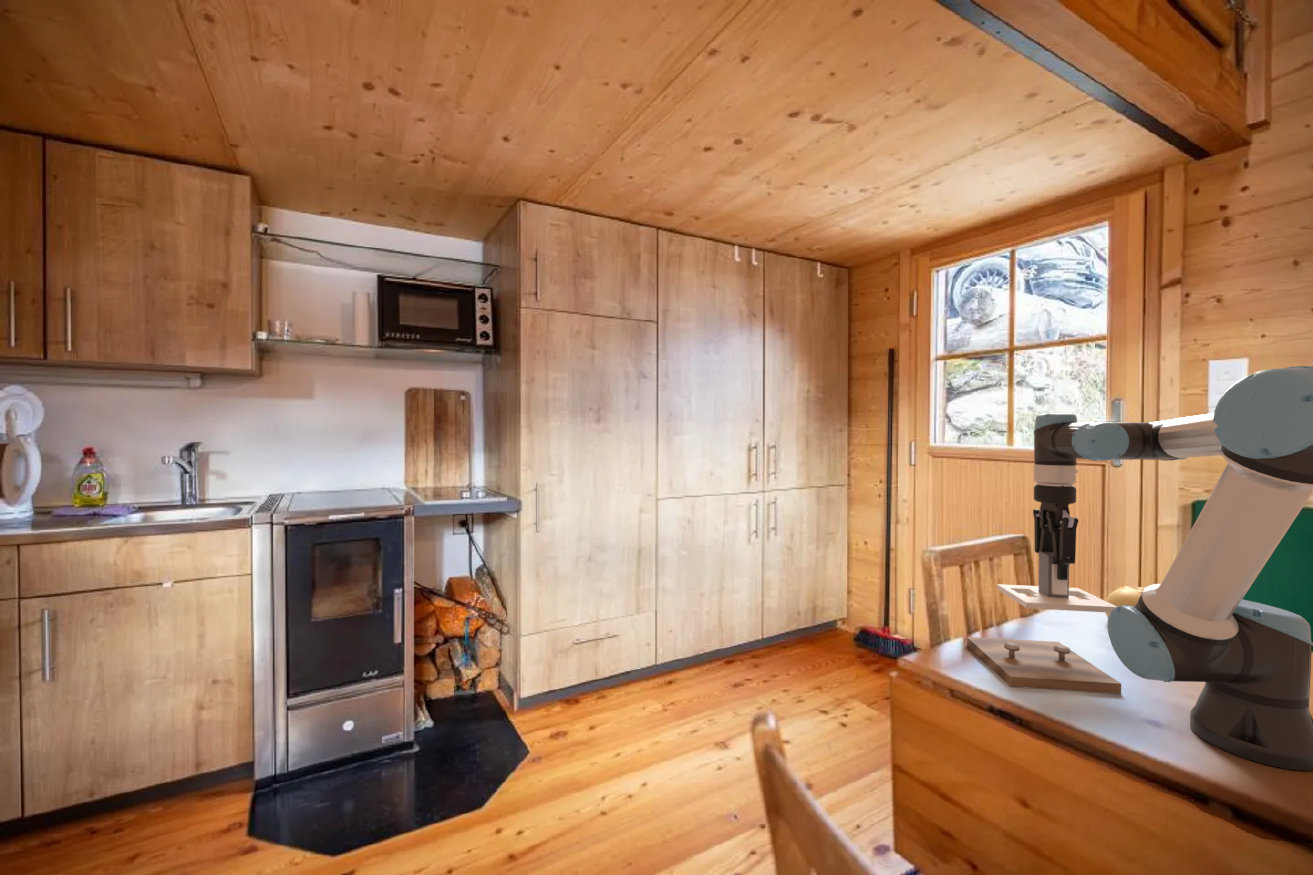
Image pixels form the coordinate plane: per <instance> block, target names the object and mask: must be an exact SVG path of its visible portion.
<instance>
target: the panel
mask: <svg viewBox="0 0 1313 875" xmlns="http://www.w3.org/2000/svg"><path fill="white" fill-rule="evenodd" d="M1051 561H1054V552H1039V553H1038V585H1024V584H1023V585H1021V584H1020V585H1019V584H1018V585H1017V584H1003V583H1002V584H1001V583H997V584H996V590H997V591H999V592H1001V593H1002V594H1004V595H1005V596H1007V597H1008V598H1010V599H1011V600H1013V601H1014V602H1016V603H1017V604H1019V605H1020V606H1022V607H1023V608H1025V609H1034V610H1055V611H1073V612H1075V611H1076V612H1088V613H1089V612H1092V613H1093V612H1094V613H1106V612H1107V613H1110V612H1111V611H1112V610H1113V609H1114V608H1116V607H1117V606H1115V605H1112V604H1110V603H1108V602H1106V600H1104V599H1102V598H1100V597H1098V596H1095V595H1094V594H1092V593H1089V592H1087V591H1085V590H1083V589H1081V588H1079V587H1070V565H1068V588H1067V595H1059V594H1052V564H1051Z"/></svg>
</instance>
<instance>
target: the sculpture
mask: <svg viewBox="0 0 1313 875" xmlns="http://www.w3.org/2000/svg"><path fill="white" fill-rule="evenodd" d="M1145 588H1146V587H1140V586H1137V587H1136V586H1127V585H1122V586H1119V587H1117V588H1116V589H1114V590H1113V591H1112V592H1110V593H1109V594H1108V595H1107V597H1106V599H1105V601H1106V602H1108V603H1110V604H1112V605H1115V606H1117V607H1118V606H1122V605H1129V606H1133V605H1135V604H1136V603H1137V601H1138V599H1139V597H1140V596H1141V594H1142V592H1143V590H1144V589H1145ZM1109 614H1110V613H1107V612H1105V615H1106V617H1107V618H1108V617H1109Z"/></svg>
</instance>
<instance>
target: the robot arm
mask: <svg viewBox="0 0 1313 875" xmlns="http://www.w3.org/2000/svg"><path fill="white" fill-rule="evenodd" d="M1034 420H1035V421H1034V430H1033V448H1034V449H1033V456H1034V457H1033V458H1034V463H1033V482H1035V485H1034V486H1033V500H1034V501H1035V502H1038V503H1040V506H1039V508H1038V509H1036V508H1035V509H1033V510H1032V514H1033V519H1034V533H1033V534H1034V552H1035V553H1036V554H1039V552H1054V561H1051V564H1052V594H1059V595H1067V588H1068V565H1069V566H1070V565H1075V563H1076V550H1077V549H1076V548H1077V546H1076V545H1077V527H1078V524H1079V518H1078V517H1072V516H1071V514H1070V513H1071V512H1070V511H1071V510H1070V508H1069V505H1072V504H1076V503H1077V487H1076V486H1074V485H1075V484H1076V483H1077V474H1078V469H1077V459H1079V460H1088V461H1094V462H1097V461H1099V462H1100V461H1101V462H1104V461H1105V462H1106V461H1115V460H1116V461H1117V460H1118V461H1120V460H1122V461H1127V460H1129V461H1133V460H1136V461H1137V460H1142V461H1143V460H1147V461H1165V462H1166V461H1178V460H1185V459H1189V458H1200V457H1214V456H1217V457H1218V456H1222V457H1223V459H1224V460H1225V461H1226V463H1227V464H1226V466H1225V468H1224V469H1223V472H1222V474H1221V475H1220V477H1219V478H1218V480H1217V482H1216V484H1215V486H1214V488H1213V490H1211V493H1210V494H1209V496H1208V499H1207V501H1206V502H1205V503H1204V506H1203V508H1202V509H1201V511H1200V513H1199V515H1198V516H1197V519H1196V520H1195V522H1194V524H1193V526H1192V527H1191V529H1190V531H1189V533H1188V535H1187V536H1186V538H1185V540H1184V542H1183V543H1182V545H1181V547H1180V549H1179V551H1178V552H1177V555H1176V556H1175V557H1174V560H1173V562H1172V563H1171V565H1170V567H1169V569H1168V571H1167V573H1166V574H1165V576H1164V578H1163V580H1162V581H1161V583H1153V584H1150V585H1148V586H1146V587H1144V588H1145V589H1144V590H1143V592H1142V594H1141V596H1140V597H1139V599H1138V601H1137V603H1136V604H1135V605H1133V606H1129V605H1122V606H1118V607H1116V608H1114V609H1113V610H1112V611H1111V612H1110V614H1109V617H1107V622H1106V623H1107V627H1106V628H1107V634H1108V637H1109V640H1110V643H1111V644H1110V645H1111V646H1112V649H1113V651H1114V653H1115V654H1116V656H1117V657H1118V659H1119V661H1120V662H1121V663H1122V664H1123V665H1124V667H1126V669H1128V670H1129V671H1130V672H1131V673H1132V674H1134V675H1136V676H1138V677H1140V678H1141V679H1146V680H1151V681H1161V682H1163V683H1171V682H1180V683H1181V682H1184V683H1185V682H1186V683H1191V682H1192V683H1204V686H1203V687H1202V690H1201V692H1200V694H1199V695H1198V698H1197V700H1196V703H1195V705H1194V706H1193V707H1192V708H1191V710H1190V713H1189V727H1190V729H1191V731H1192V732H1194V734H1196V735H1197V736H1198V737H1199V738H1201V739H1202V740H1204V741H1205V742H1207V743H1209V744H1211V745H1213V746H1214V747H1217V748H1219V749H1221V750H1223V751H1226V752H1227V753H1230V754H1233V755H1235V756H1239V757H1241V758H1244V759H1247V760H1250V761H1253V762H1257V763H1260V764H1263V765H1267V766H1272V767H1276V768H1280V769H1281V768H1282V769H1285V770H1286V769H1287V770H1293V771H1306V772H1310V771H1311V772H1312V771H1313V716H1312V714H1311V712H1310V698H1311V697H1310V696H1311V695H1310V694H1311V693H1310V692H1311V674H1312V672H1311V671H1312V649H1313V641H1312V631H1311V625H1310V623H1309V622H1308V620H1306V618H1304V617H1303V616H1301V615H1300V614H1297V613H1294V612H1293V611H1292V612H1291V611H1290V610H1286V609H1284V608H1280V607H1275V606H1272V605H1268V604H1264V603H1261V602H1256V601H1251V600H1247V599H1244V597H1245V595H1246V594H1247V593H1248V592H1249V590H1250V588H1251V587H1252V584H1254V582H1255V580H1256V579H1257V578H1258V576H1259V574H1260V573H1261V572H1262V570H1263V568H1264V567H1265V565H1266V563H1267V562H1268V561H1269V559H1270V558H1271V556H1272V555H1273V553H1274V552H1275V550H1276V549H1277V547H1278V545H1279V544H1280V543H1281V541H1282V540H1283V538H1284V536H1286V534H1287V533H1288V530H1289V529H1290V527H1291V526H1292V525H1293V523H1294V521H1295V519H1296V518H1297V517H1298V515H1299V514H1300V513H1301V511H1302V509H1303V508H1304V506H1305V505H1306V503H1307V502H1308V500H1309V499H1310V498H1311V495H1312V494H1313V366H1312V365H1297V366H1288V367H1280V368H1270V369H1264V370H1259V371H1256V372H1254V373H1251V374H1249V375H1247V376H1245V377H1242V378H1241V379H1239V380H1237V381H1236V382H1234V383H1233V384H1232V385H1231V386H1230V387H1228V388H1227V390H1226V391H1225V392H1224V393H1223V394H1222V395H1221V397H1220V399H1219V400H1218V402H1217V404H1216V406H1215V409H1214V411H1213V412H1212V413H1206V414H1198V415H1192V416H1185V417H1178V418H1173V419H1165V420H1158V421H1147V422H1146V421H1145V422H1144V421H1143V422H1142V421H1141V422H1140V421H1139V422H1138V421H1137V422H1134V421H1133V422H1132V421H1129V422H1128V421H1124V422H1122V421H1119V422H1118V421H1110V422H1109V421H1104V420H1103V421H1097V420H1096V421H1095V420H1094V421H1084V422H1082V421H1081V422H1078V418H1077V415H1076V414H1073V413H1040V414H1038V415H1037V416H1036V417H1035V418H1034Z"/></svg>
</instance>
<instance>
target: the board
mask: <svg viewBox="0 0 1313 875" xmlns="http://www.w3.org/2000/svg"><path fill="white" fill-rule="evenodd" d="M966 646H967V647H968V648H969V649H970V650H972V652H974V653H975V655H977V657H979V658H980V659H981V660H982V661H983V662H984V663H985V662H986V663H987V664H986V663H985V664H986V665H987V666H988V665H989V666H990V667H991V668H990V667H989V666H988V667H989V668H990V669H991V670H992V671H993V672H994V673H996V674H997V675H998V676H999V677H1000V678H1001V679H1002V680H1003V681H1004V682H1005V683H1006V684H1007V683H1008V684H1007V685H1009V687H1011V686H1015V687H1014V688H1024V687H1028V689H1039V690H1040V689H1042V690H1056V691H1057V690H1058V691H1075V692H1088V693H1105V694H1118V695H1119V694H1120V695H1121V694H1122V683H1121V682H1120V681H1119V680H1117V679H1115V678H1114V677H1113V676H1111V675H1110V674H1107V673H1106V672H1105V671H1103V670H1102V669H1100V668H1099V667H1097V666H1096V665H1094V664H1092V663H1091V662H1090V661H1088V660H1087V659H1085V658H1083V657H1082V656H1080V655H1079V654H1077V653H1076V652H1075V651H1073V650H1071V648H1069V647H1068V646H1066V645H1064V644H1062V643H1061V642H1060V641H1050V640H1049V641H1046V640H1029V639H1014V638H1013V639H1012V638H1011V639H1010V638H1009V639H1008V638H995V637H990V638H989V637H973V636H966Z"/></svg>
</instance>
